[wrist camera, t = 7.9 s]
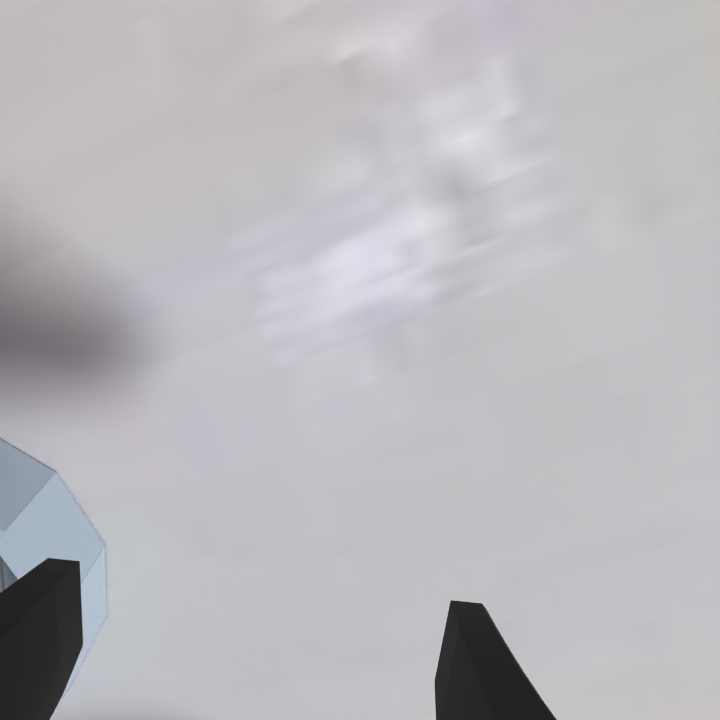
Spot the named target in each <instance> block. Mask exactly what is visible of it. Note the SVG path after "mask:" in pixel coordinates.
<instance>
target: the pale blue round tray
mask: <svg viewBox="0 0 720 720" xmlns="http://www.w3.org/2000/svg"><path fill="white" fill-rule="evenodd" d="M47 558H54V559H64V560H73V561H80V580H81V603H82V627H83V646H82V649H81V651H80V654H79V657H78V659H77V662H76V664H75V667H74V669H73V672H72V674H71V676H70V679H69V681H68V683H67V686H66V688H65V690H64V693H63V695H62V697H61V699H60V701H61V700H62V699H63V697H64V696H65V695H66V693H67V692H68V691H69V689H70V687H71V685H72V683H73V681H74V679H75V677H76V675H77V673H78V671H79V670H80V668H81V666H82V664H83V662H84V660H85V658H86V656H87V654H88V652H89V650H90V648H91V647H92V645H93V643H94V641H95V639H96V637H97V635H98V633H99V631H100V629H101V627H102V626H103V624H104V622H105V620H106V618H107V600H106V559H105V544H104V543H103V541H102V540H101V538H100V537H99V535H98V534H97V532H96V531H95V529H94V528H93V526H92V525H91V523H90V522H89V520H88V519H87V517H86V516H85V514H84V513H83V511H82V510H81V508H80V507H79V505H78V504H77V502H76V501H75V499H74V498H73V496H72V495H71V493H70V492H69V490H68V489H67V487H66V486H65V484H64V483H63V481H62V480H61V478H60V477H59V475H58V474H57V472H55V471H54V470H52V469H50V468H49V467H47V466H45V465H44V464H42V463H40V462H39V461H37V460H35V459H33V458H32V457H30V456H28V455H27V454H25V453H23V452H22V451H20V450H18V449H17V448H15V447H13V446H12V445H10V444H8V443H7V442H5V441H3V440H2V439H0V593H1V592H2V591H4V590H5V589H6V588H8V587H9V586H10V585H12V584H13V583H14V582H16V581H17V580H18V579H20V578H21V577H22V576H24V575H25V574H27V573H28V572H29V571H31V570H32V569H33V568H35V567H36V566H37V565H39V564H40V563H42V562H43V561H44V560H46V559H47ZM60 701H59V702H60ZM58 704H59V703H58Z"/></svg>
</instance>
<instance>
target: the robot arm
mask: <svg viewBox="0 0 720 720" xmlns="http://www.w3.org/2000/svg"><path fill="white" fill-rule="evenodd" d="M82 646H83V627H82V603H81V580H80V561H73V560H64V559H54V558H47V559H46V560H44V561H43V562H42V563H40V564H39V565H37V566H36V567H35V568H33V569H32V570H31V571H29V572H28V573H27V574H25V575H24V576H22V577H21V578H20V579H18V580H17V581H16V582H14V583H13V584H12V585H10V586H9V587H8V588H6V589H5V590H4V591H2V592H1V593H0V720H49V719H50V717H51V716H52V714H53V712H54V710H55V708H56V707H57V705H58V703H59V701H60V699H61V697H62V695H63V693H64V690H65V688H66V686H67V683H68V681H69V679H70V676H71V674H72V672H73V669H74V667H75V664H76V662H77V659H78V657H79V654H80V651H81V649H82ZM435 701H436V720H556V718H555V717H554V716H553V714H552V713H551V711H550V710H549V709H548V707H547V706H546V704H545V703H544V701H543V700H542V699H541V697H540V696H539V694H538V693H537V691H536V690H535V688H534V687H533V685H532V684H531V682H530V681H529V679H528V678H527V676H526V675H525V673H524V672H523V670H522V669H521V667H520V665H519V664H518V662H517V661H516V659H515V657H514V656H513V654H512V653H511V651H510V649H509V648H508V646H507V644H506V643H505V641H504V639H503V638H502V636H501V634H500V632H499V631H498V629H497V627H496V626H495V624H494V622H493V620H492V619H491V617H490V615H489V613H488V611H487V610H486V608H485V607H484V606H483V604H480V603H470V602H461V601H451V602H450V607H449V612H448V617H447V622H446V627H445V632H444V637H443V642H442V647H441V652H440V657H439V662H438V667H437V672H436V677H435Z"/></svg>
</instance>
